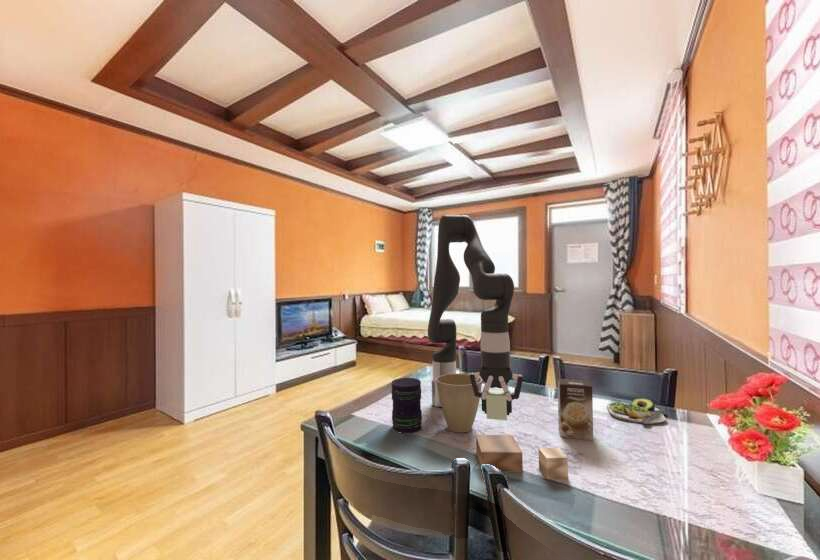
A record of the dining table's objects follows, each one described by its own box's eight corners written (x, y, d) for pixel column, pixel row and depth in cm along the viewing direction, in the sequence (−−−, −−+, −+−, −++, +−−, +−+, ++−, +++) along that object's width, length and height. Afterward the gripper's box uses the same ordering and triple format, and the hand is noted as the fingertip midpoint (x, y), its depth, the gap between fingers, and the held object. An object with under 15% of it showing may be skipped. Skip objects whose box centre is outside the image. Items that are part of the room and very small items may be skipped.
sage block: (486, 418, 87) (486, 395, 87) (487, 411, 92) (486, 389, 92) (507, 420, 86) (506, 396, 86) (506, 413, 91) (505, 390, 91)
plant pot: (492, 427, 110) (491, 378, 110) (464, 442, 100) (463, 388, 100) (455, 415, 121) (454, 370, 121) (427, 428, 110) (426, 379, 111)
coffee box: (560, 437, 102) (558, 383, 102) (558, 428, 108) (556, 378, 108) (594, 441, 99) (592, 386, 99) (590, 432, 105) (588, 380, 105)
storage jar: (426, 424, 114) (425, 379, 114) (414, 435, 105) (413, 387, 105) (400, 419, 118) (399, 376, 118) (386, 430, 109) (385, 384, 109)
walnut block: (482, 472, 84) (481, 452, 84) (476, 452, 94) (475, 434, 94) (522, 472, 83) (522, 452, 84) (512, 453, 93) (512, 434, 94)
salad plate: (676, 432, 104) (676, 417, 104) (609, 423, 112) (609, 409, 112) (663, 411, 121) (662, 398, 122) (606, 404, 130) (605, 392, 130)
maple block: (547, 479, 80) (546, 458, 80) (539, 468, 85) (538, 448, 85) (568, 478, 80) (567, 457, 80) (558, 467, 85) (558, 447, 85)
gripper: (466, 350, 88) (468, 416, 87) (524, 352, 84) (526, 421, 84) (468, 345, 95) (470, 406, 94) (522, 346, 91) (524, 410, 91)
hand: (496, 413), depth 89 cm, fingers closed on sage block, 5 cm apart
